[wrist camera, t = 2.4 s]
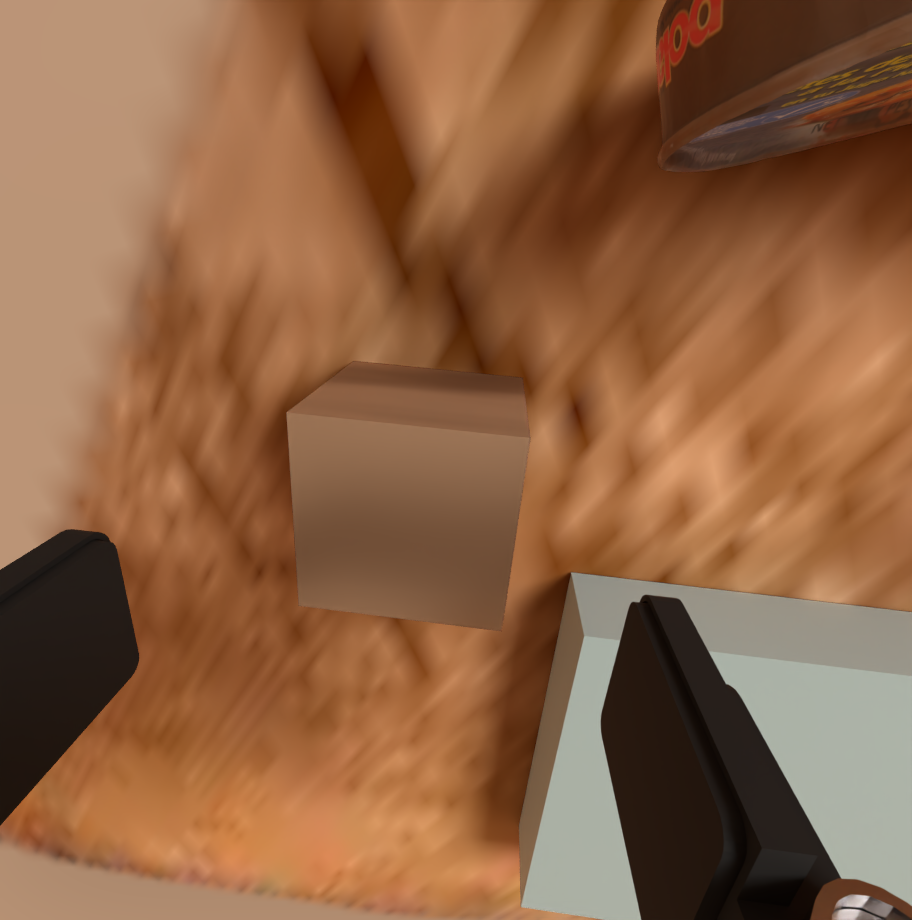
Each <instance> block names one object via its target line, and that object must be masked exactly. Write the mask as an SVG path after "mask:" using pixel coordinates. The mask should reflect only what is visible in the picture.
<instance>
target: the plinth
mask: <svg viewBox="0 0 912 920" xmlns="http://www.w3.org/2000/svg"><path fill="white" fill-rule="evenodd" d="M643 595H654V596H663V597H672V598H678V599H680V600H681V602H682V603H683V605H684V607H685V608H686V610H687V612H688V614H689V616H690V618H691V620H692V621H693V623H694V625H695V627H696V629H697V631H698V633H699V635H700V636H701V638H702V640H703V642H704V644H705V646H706V648H707V649H708V651H709V653H710V655H711V657H712V659H713V661H714V663H715V664H716V666H717V668H718V670H719V672H720V674H721V676H722V677H723V679H724V681H725V683H726V684H728V685H730V686H732V687H733V688H734V689H735V690H736V691H737V692H738V694H739V695H740V697H741V698H742V700H743V702H744V703H745V705H746V707H747V709H748V711H749V712H750V714H751V716H752V718H753V720H754V721H755V723H756V725H757V727H758V729H759V730H760V732H761V734H762V736H763V738H764V739H765V741H766V743H767V745H768V747H769V748H770V750H771V752H772V754H773V756H774V757H775V759H776V761H777V763H778V765H779V767H780V768H781V770H782V772H783V774H784V776H785V777H786V779H787V781H788V783H789V785H790V786H791V788H792V790H793V792H794V794H795V795H796V797H797V799H798V801H799V803H800V804H801V806H802V808H803V810H804V812H805V813H806V815H807V817H808V819H809V821H810V822H811V824H812V826H813V828H814V830H815V831H816V833H817V835H818V837H819V839H820V841H821V842H822V844H823V846H824V848H825V850H826V851H827V853H828V855H829V857H830V859H831V860H832V862H833V864H834V866H835V868H836V869H837V871H838V873H839V875H840V877H841V878H842V879H858V880H861V881H864V882H867V883H870V884H873V885H876V886H878V887H881V888H883V889H885V890H886V891H888V892H890V893H892V894H893V895H895V896H897V897H899V898H900V899H902V900H904V901H905V902H907V903H908V904H910V905H911V906H912V612H907V611H898V610H889V609H881V608H872V607H864V606H855V605H846V604H838V603H829V602H821V601H812V600H804V599H795V598H786V597H778V596H769V595H761V594H752V593H743V592H735V591H726V590H718V589H709V588H700V587H692V586H683V585H675V584H666V583H658V582H649V581H640V580H632V579H623V578H615V577H606V576H597V575H589V574H580V573H572V572H571V576H570V581H569V586H568V590H567V595H566V600H565V605H564V610H563V615H562V620H561V624H560V629H559V634H558V639H557V644H556V649H555V653H554V658H553V663H552V668H551V673H550V678H549V683H548V687H547V692H546V697H545V702H544V707H543V712H542V716H541V721H540V726H539V731H538V736H537V741H536V745H535V750H534V755H533V760H532V765H531V770H530V775H529V779H528V784H527V789H526V794H525V799H524V804H523V808H522V813H521V818H520V823H519V854H520V893H521V907H524V908H531V909H537V910H544V911H551V912H557V913H564V914H570V915H577V916H584V917H590V918H597V919H603V920H641V916H640V912H639V907H638V902H637V898H636V893H635V888H634V884H633V879H632V875H631V870H630V865H629V861H628V856H627V851H626V847H625V842H624V837H623V833H622V828H621V824H620V819H619V814H618V810H617V805H616V800H615V796H614V791H613V787H612V782H611V777H610V773H609V768H608V763H607V759H606V754H605V749H604V745H603V740H602V735H601V713H602V709H603V705H604V701H605V697H606V693H607V689H608V685H609V682H610V678H611V674H612V670H613V666H614V662H615V659H616V655H617V651H618V647H619V643H620V639H621V635H622V632H623V628H624V624H625V620H626V616H627V612H628V609H629V606H630V604H631V602H640V600H641V598H642V596H643Z"/></svg>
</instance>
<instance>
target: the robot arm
mask: <svg viewBox="0 0 912 920" xmlns="http://www.w3.org/2000/svg"><path fill="white" fill-rule="evenodd" d="M138 662H139V652H138V647H137V643H136V638H135V633H134V628H133V624H132V619H131V614H130V610H129V605H128V600H127V595H126V591H125V586H124V581H123V576H122V572H121V567H120V562H119V558H118V553H117V549H116V546H115V545H114V544H113V543H111V542H110V540H109V538H108V537H107V536H106V535H105V534H103V533H100V532H91V531H82V530H73V529H71V530H65V531H63V532H60V533H59V534H57V535H56V536H54V537H52V538H51V539H49V540H48V541H46V542H44V543H43V544H41V545H40V546H38V547H36V548H35V549H33V550H31V551H30V552H28V553H27V554H25V555H23V556H22V557H20V558H19V559H17V560H15V561H14V562H12V563H11V564H9V565H7V566H6V567H4V568H2V569H1V570H0V825H1V824H2V823H3V822H4V821H5V820H6V818H7V817H8V816H9V815H10V814H11V813H12V812H13V810H14V809H15V808H16V807H17V806H18V805H19V804H20V803H21V801H22V800H23V799H24V798H25V797H26V796H27V795H28V793H29V792H30V791H31V790H32V789H33V788H34V787H35V786H36V784H37V783H38V782H39V781H40V780H41V779H42V778H43V776H44V775H45V774H46V773H47V772H48V771H49V770H50V769H51V767H52V766H53V765H54V764H55V763H56V762H57V761H58V759H59V758H60V757H61V756H62V755H63V754H64V753H65V752H66V750H67V749H68V748H69V747H70V746H71V745H72V744H73V742H74V741H75V740H76V739H77V738H78V737H79V736H80V735H81V733H82V732H83V731H84V730H85V729H86V728H87V727H88V725H89V724H90V723H91V722H92V721H93V720H94V719H95V717H96V716H97V715H98V714H99V713H100V712H101V711H102V710H103V708H104V707H105V706H106V705H107V704H108V703H109V702H110V700H111V699H112V698H113V697H114V696H115V695H116V694H117V693H118V691H119V690H120V689H121V688H122V687H123V686H124V685H125V683H126V682H127V681H128V680H129V679H130V678H131V677H132V675H133V674H134V672H135V670H136V668H137V665H138ZM601 735H602V740H603V745H604V749H605V754H606V759H607V763H608V768H609V773H610V777H611V782H612V787H613V791H614V796H615V800H616V805H617V810H618V814H619V819H620V824H621V828H622V833H623V837H624V842H625V847H626V851H627V856H628V861H629V865H630V870H631V875H632V879H633V884H634V888H635V893H636V898H637V902H638V907H639V912H640V916H641V920H912V906H911V905H910V904H908V903H907V902H905V901H904V900H902V899H900V898H899V897H897V896H895V895H893V894H892V893H890V892H888V891H886V890H885V889H883V888H881V887H878V886H876V885H873V884H870V883H867V882H864V881H861V880H858V879H842V878H841V877H840V875H839V873H838V871H837V869H836V868H835V866H834V864H833V862H832V860H831V859H830V857H829V855H828V853H827V851H826V850H825V848H824V846H823V844H822V842H821V841H820V839H819V837H818V835H817V833H816V831H815V830H814V828H813V826H812V824H811V822H810V821H809V819H808V817H807V815H806V813H805V812H804V810H803V808H802V806H801V804H800V803H799V801H798V799H797V797H796V795H795V794H794V792H793V790H792V788H791V786H790V785H789V783H788V781H787V779H786V777H785V776H784V774H783V772H782V770H781V768H780V767H779V765H778V763H777V761H776V759H775V757H774V756H773V754H772V752H771V750H770V748H769V747H768V745H767V743H766V741H765V739H764V738H763V736H762V734H761V732H760V730H759V729H758V727H757V725H756V723H755V721H754V720H753V718H752V716H751V714H750V712H749V711H748V709H747V707H746V705H745V703H744V702H743V700H742V698H741V697H740V695H739V694H738V692H737V691H736V690H735V689H734V688H733V687H732V686H730V685H728V684H726V683H725V681H724V679H723V677H722V676H721V674H720V672H719V670H718V668H717V666H716V664H715V663H714V661H713V659H712V657H711V655H710V653H709V651H708V649H707V648H706V646H705V644H704V642H703V640H702V638H701V636H700V635H699V633H698V631H697V629H696V627H695V625H694V623H693V621H692V620H691V618H690V616H689V614H688V612H687V610H686V608H685V607H684V605H683V603H682V602H681V600H680V599H678V598H672V597H663V596H654V595H643V596H642V598H641V600H640V602H631V604H630V606H629V609H628V612H627V616H626V620H625V624H624V628H623V632H622V635H621V639H620V643H619V647H618V651H617V655H616V659H615V662H614V666H613V670H612V674H611V678H610V682H609V685H608V689H607V693H606V697H605V701H604V705H603V709H602V713H601Z"/></svg>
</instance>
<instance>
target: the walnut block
mask: <svg viewBox="0 0 912 920" xmlns="http://www.w3.org/2000/svg"><path fill="white" fill-rule="evenodd" d="M286 414H287V429H288V445H289V461H290V477H291V492H292V508H293V524H294V539H295V555H296V571H297V587H298V602H299V606H304V607H312V608H320V609H328V610H336V611H344V612H352V613H359V614H367V615H375V616H383V617H391V618H399V619H407V620H415V621H423V622H431V623H439V624H447V625H455V626H463V627H471V628H479V629H487V630H495V631H502V626H503V619H504V613H505V606H506V599H507V593H508V586H509V579H510V572H511V566H512V559H513V552H514V545H515V539H516V532H517V525H518V519H519V512H520V505H521V498H522V492H523V485H524V478H525V471H526V465H527V458H528V451H529V444H530V431H529V423H528V415H527V408H526V400H525V392H524V385H523V378H521V377H510V376H500V375H490V374H480V373H470V372H460V371H449V370H439V369H429V368H419V367H409V366H399V365H388V364H378V363H368V362H358V361H353V362H352V363H350V364H349V365H348V366H346V367H345V368H344V369H343V370H341V371H340V372H339V373H337V374H336V375H335V376H333V377H332V378H331V379H329V380H328V381H327V382H326V383H324V384H323V385H322V386H320V387H319V388H318V389H316V390H315V391H314V392H312V393H311V394H310V395H309V396H307V397H306V398H305V399H303V400H302V401H301V402H299V403H298V404H297V405H296V406H294V407H293V408H292V409H290V410H289V411H288V412H286Z"/></svg>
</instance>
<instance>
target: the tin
mask: <svg viewBox="0 0 912 920" xmlns="http://www.w3.org/2000/svg"><path fill="white" fill-rule="evenodd" d="M656 62H657V78H658V91H659V102H660V113H661V126H662V147H661V149H660V151H659V153H658V159H657V161H658V165H659V167H660V168H661V169H662V170H667V171H672V172H702V171H710V170H717V169H722V168H727V167H732V166H738V165H743V164H747V163H752V162H756V161H759V160H763V159H766V158H773V157H777V156H781V155H786V154H790V153H795V152H799V151H803V150H807V149H811V148H815V147H819V146H824V145H828V144H832V143H835V142H838V141H842V140H848V139H851V138H855V137H859V136H864V135H868V134H871V133H875V132H879V131H883V130H887V129H891V128H895V127H899V126H903V125H907V124H911V123H912V0H667V1H666V3H665V5H664V7H663V9H662V12H661V15H660V17H659V20H658V26H657V37H656Z"/></svg>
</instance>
